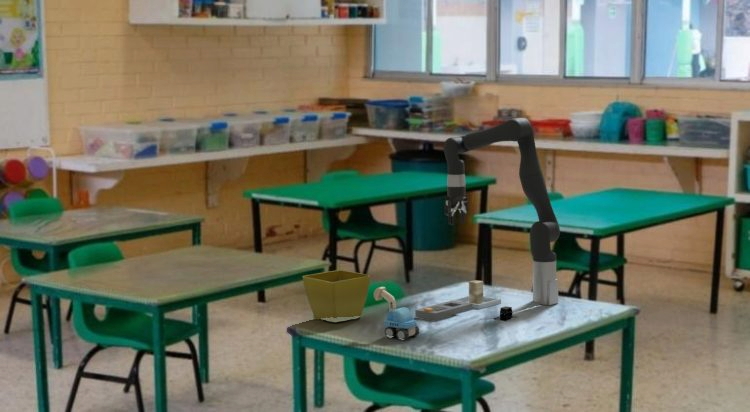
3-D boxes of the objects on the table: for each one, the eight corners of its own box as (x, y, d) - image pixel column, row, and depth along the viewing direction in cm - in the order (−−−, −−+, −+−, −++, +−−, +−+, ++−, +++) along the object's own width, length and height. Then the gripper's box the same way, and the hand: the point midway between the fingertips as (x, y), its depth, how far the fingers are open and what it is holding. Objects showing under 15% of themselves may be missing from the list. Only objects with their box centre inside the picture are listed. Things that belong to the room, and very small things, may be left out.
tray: (501, 305, 497) (501, 299, 496) (479, 311, 487) (479, 304, 486) (473, 300, 506) (473, 294, 506) (451, 306, 496) (451, 300, 496)
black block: (505, 323, 467) (505, 311, 467) (488, 321, 472) (488, 309, 471) (522, 317, 477) (522, 305, 476) (506, 315, 482) (506, 303, 481)
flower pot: (302, 318, 479) (301, 275, 476) (341, 311, 491) (340, 269, 489) (333, 327, 464) (332, 282, 462) (372, 319, 476) (371, 275, 474)
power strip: (472, 311, 487) (471, 301, 486) (435, 321, 470) (435, 311, 470) (451, 308, 493) (451, 298, 493) (415, 317, 477) (415, 307, 477)
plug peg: (483, 303, 496) (483, 281, 495) (477, 305, 494) (476, 282, 492) (475, 302, 499) (475, 280, 498) (469, 304, 496) (468, 281, 495)
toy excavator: (385, 330, 457) (384, 284, 454) (421, 337, 446) (421, 289, 444) (370, 335, 450) (369, 288, 448) (406, 341, 440) (406, 293, 437)
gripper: (453, 187, 514) (454, 226, 516) (473, 183, 525) (474, 222, 527) (438, 186, 519) (439, 225, 521) (458, 182, 530) (459, 221, 532)
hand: (456, 223), depth 524 cm, fingers open, 8 cm apart
